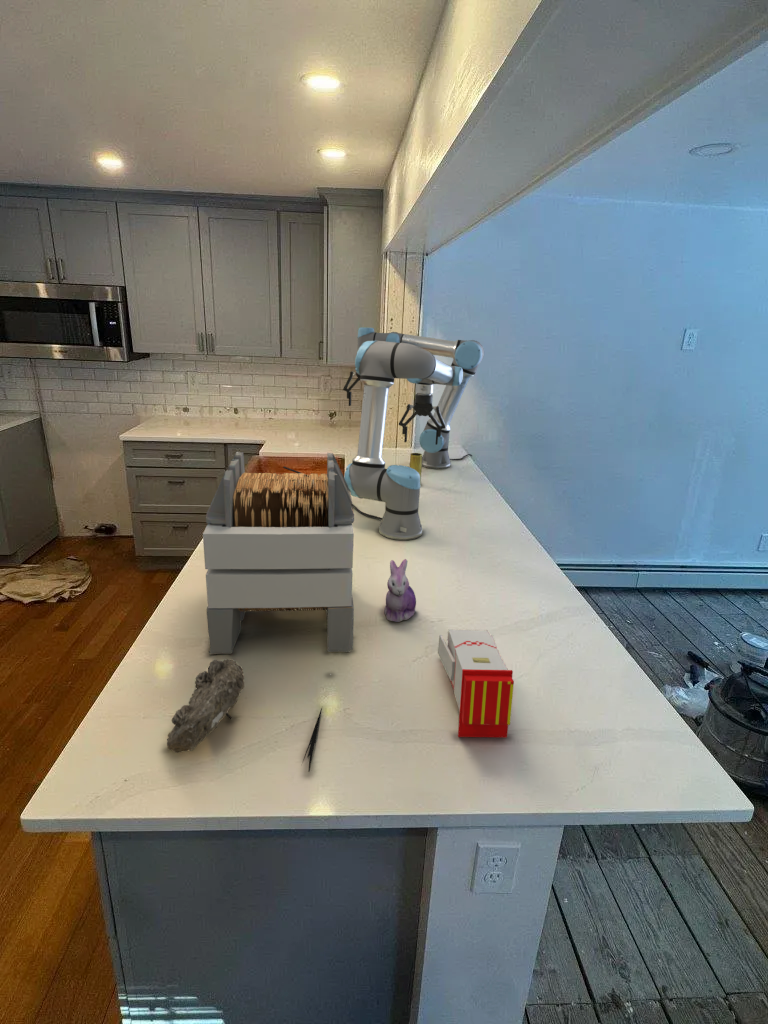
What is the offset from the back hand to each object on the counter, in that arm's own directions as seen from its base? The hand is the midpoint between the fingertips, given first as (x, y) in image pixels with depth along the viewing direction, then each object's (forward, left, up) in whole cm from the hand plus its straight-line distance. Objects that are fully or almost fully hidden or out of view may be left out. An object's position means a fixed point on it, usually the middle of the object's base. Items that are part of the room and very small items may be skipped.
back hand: (363, 406), depth 276 cm
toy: (+159, +86, -29) cm, 183 cm away
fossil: (+185, +42, -29) cm, 192 cm away
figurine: (+134, +63, -29) cm, 151 cm away
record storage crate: (+147, +37, -29) cm, 154 cm away
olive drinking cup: (+22, +34, -29) cm, 50 cm away
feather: (+178, +61, -29) cm, 191 cm away
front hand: (+23, +36, -9) cm, 44 cm away
